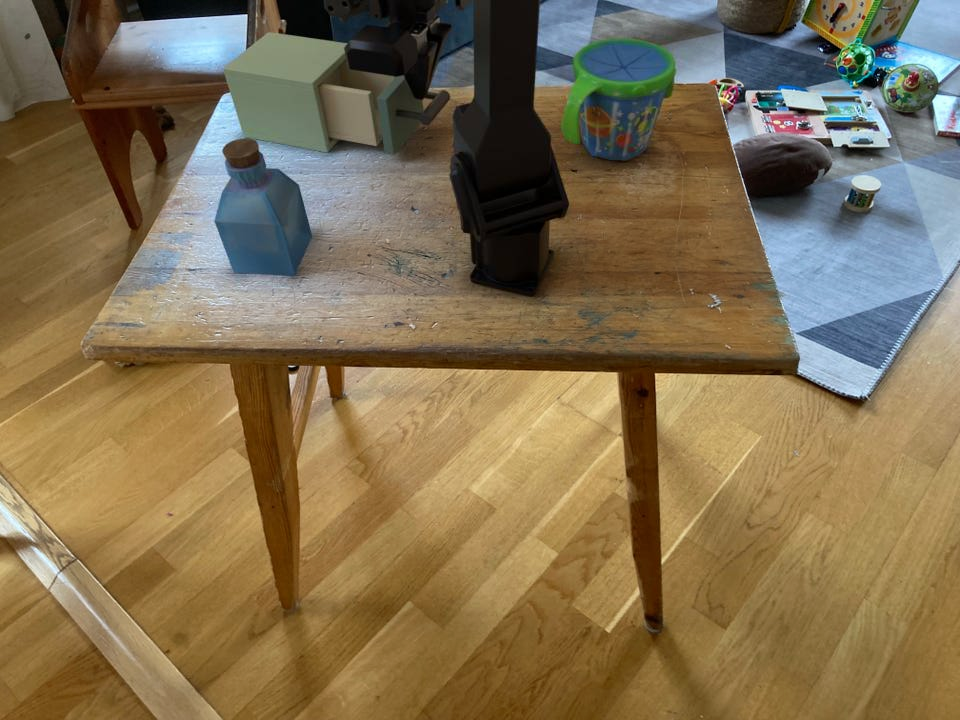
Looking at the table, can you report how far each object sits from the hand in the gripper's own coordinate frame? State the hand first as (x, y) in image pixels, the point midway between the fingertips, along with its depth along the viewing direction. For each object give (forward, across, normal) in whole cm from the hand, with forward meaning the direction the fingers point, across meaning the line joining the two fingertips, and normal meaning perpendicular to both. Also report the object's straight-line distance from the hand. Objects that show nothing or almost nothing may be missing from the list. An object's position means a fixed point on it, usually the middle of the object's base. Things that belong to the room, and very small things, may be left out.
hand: (420, 97), depth 82 cm
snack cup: (+6, -7, +21) cm, 23 cm away
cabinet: (+6, 0, -16) cm, 17 cm away
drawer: (+5, 0, -5) cm, 7 cm away
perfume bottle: (+6, +23, -6) cm, 25 cm away
